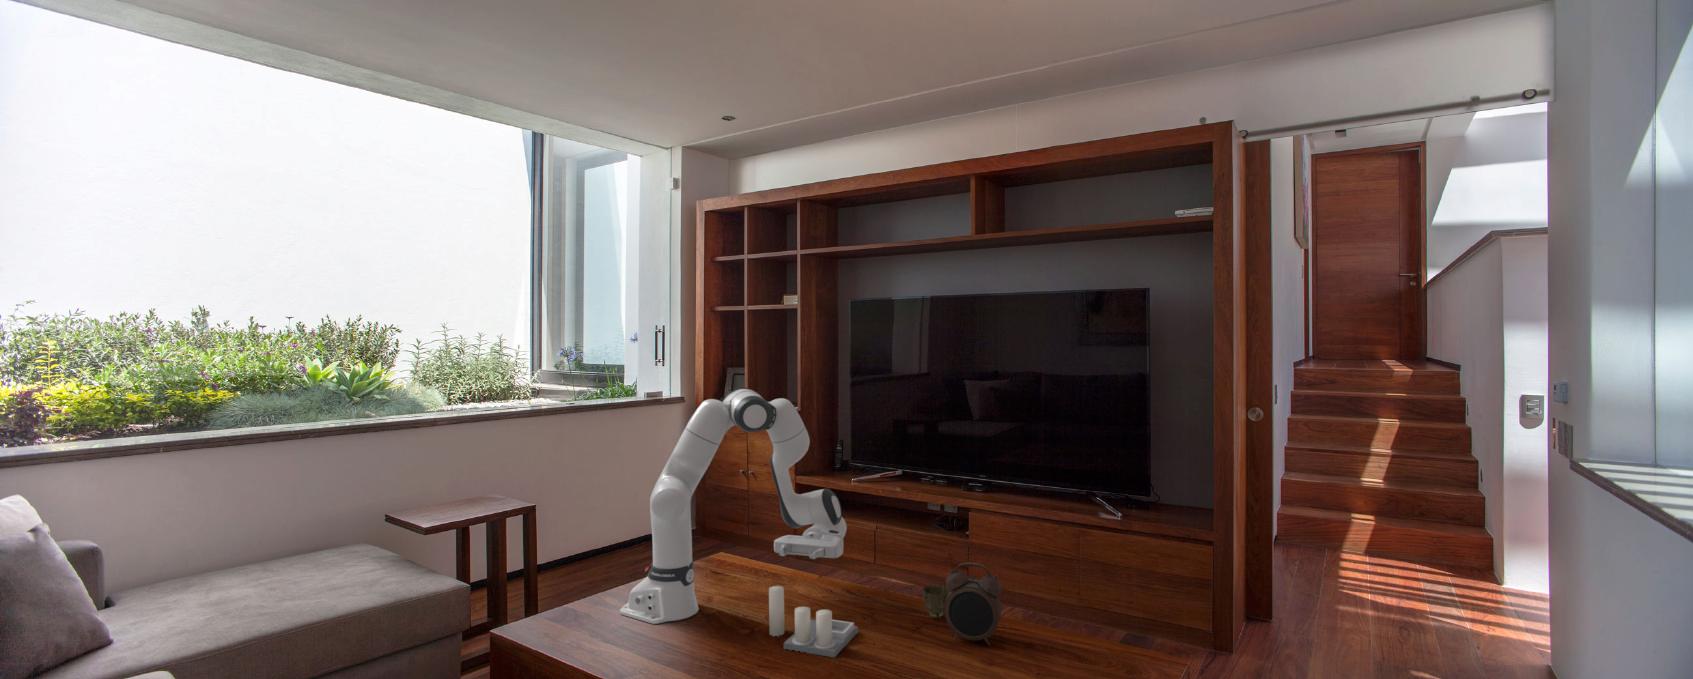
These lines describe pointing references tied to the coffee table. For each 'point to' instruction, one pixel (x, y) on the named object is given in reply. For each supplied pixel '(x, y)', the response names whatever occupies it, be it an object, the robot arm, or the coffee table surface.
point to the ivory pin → (776, 610)
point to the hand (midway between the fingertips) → (796, 554)
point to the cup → (935, 600)
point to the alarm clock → (973, 604)
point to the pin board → (821, 651)
